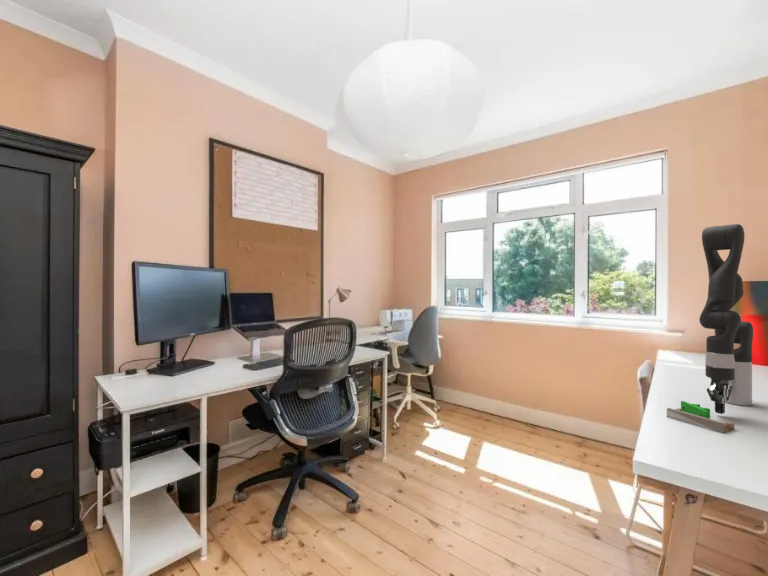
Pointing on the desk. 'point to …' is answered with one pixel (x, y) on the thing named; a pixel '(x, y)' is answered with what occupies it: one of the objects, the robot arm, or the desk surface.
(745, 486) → the desk surface
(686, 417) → the channel stop
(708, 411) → the pipe clamp
